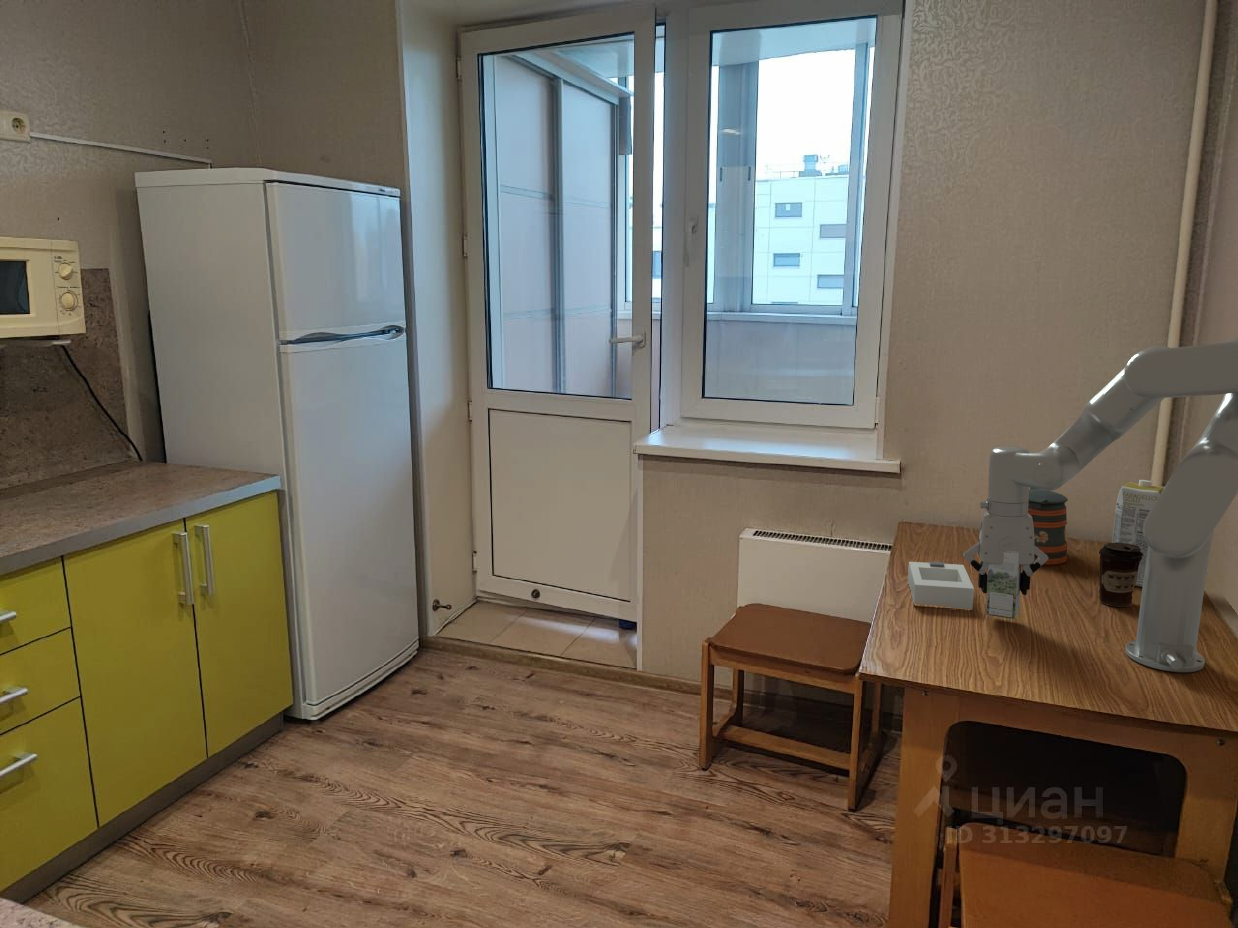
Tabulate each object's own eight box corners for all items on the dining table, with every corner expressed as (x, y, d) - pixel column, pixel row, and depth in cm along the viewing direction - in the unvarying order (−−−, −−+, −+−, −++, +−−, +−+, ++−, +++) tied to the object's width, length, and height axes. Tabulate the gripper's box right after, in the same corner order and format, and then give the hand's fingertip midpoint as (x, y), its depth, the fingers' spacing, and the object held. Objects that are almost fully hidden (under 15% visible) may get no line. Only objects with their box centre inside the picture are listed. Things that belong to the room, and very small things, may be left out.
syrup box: (1019, 610, 181) (1023, 543, 178) (1015, 620, 176) (1018, 551, 173) (990, 606, 184) (993, 540, 181) (985, 615, 179) (988, 548, 176)
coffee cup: (1144, 611, 185) (1151, 553, 182) (1101, 609, 187) (1108, 551, 184) (1129, 597, 193) (1135, 541, 191) (1088, 594, 195) (1094, 539, 192)
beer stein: (997, 541, 235) (1003, 469, 230) (1056, 545, 231) (1064, 472, 226) (1007, 563, 217) (1014, 485, 213) (1072, 568, 213) (1080, 489, 209)
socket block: (972, 610, 187) (974, 585, 186) (913, 606, 189) (915, 582, 188) (961, 585, 202) (963, 562, 201) (907, 581, 205) (908, 559, 204)
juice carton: (1159, 581, 203) (1171, 481, 198) (1150, 590, 197) (1163, 487, 192) (1114, 572, 209) (1125, 475, 204) (1105, 580, 204) (1116, 481, 199)
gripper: (964, 511, 174) (961, 596, 178) (1059, 513, 170) (1053, 600, 173) (959, 502, 181) (956, 584, 185) (1049, 504, 177) (1045, 587, 181)
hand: (1003, 591), depth 179 cm, fingers closed on syrup box, 7 cm apart
